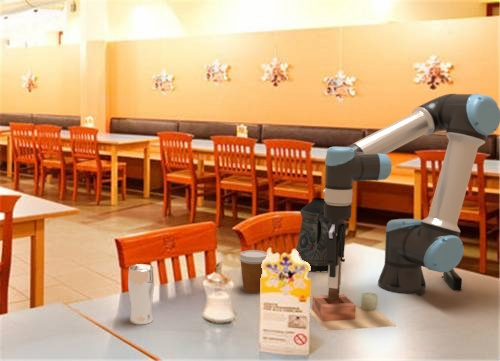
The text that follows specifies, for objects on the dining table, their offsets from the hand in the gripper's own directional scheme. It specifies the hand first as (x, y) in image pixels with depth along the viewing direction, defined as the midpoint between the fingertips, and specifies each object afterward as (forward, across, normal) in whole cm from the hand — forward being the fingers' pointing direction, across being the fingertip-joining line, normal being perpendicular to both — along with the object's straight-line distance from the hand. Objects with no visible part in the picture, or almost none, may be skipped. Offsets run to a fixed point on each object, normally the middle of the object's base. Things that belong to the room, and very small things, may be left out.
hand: (334, 285), depth 174 cm
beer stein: (+9, -48, -18) cm, 52 cm away
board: (+9, 0, +5) cm, 11 cm away
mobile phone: (+10, -48, +28) cm, 56 cm away
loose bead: (+8, -9, +8) cm, 15 cm away
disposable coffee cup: (+10, -12, -29) cm, 33 cm away
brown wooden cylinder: (+4, 0, 0) cm, 4 cm away
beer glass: (+10, +25, -47) cm, 54 cm away
